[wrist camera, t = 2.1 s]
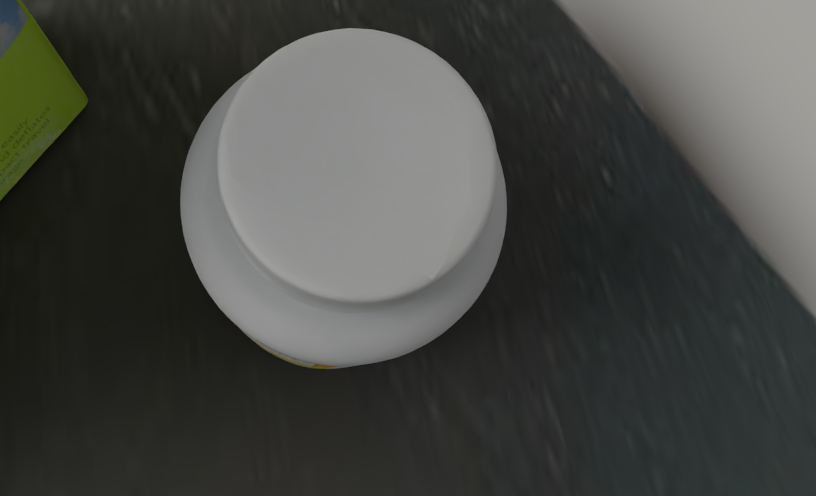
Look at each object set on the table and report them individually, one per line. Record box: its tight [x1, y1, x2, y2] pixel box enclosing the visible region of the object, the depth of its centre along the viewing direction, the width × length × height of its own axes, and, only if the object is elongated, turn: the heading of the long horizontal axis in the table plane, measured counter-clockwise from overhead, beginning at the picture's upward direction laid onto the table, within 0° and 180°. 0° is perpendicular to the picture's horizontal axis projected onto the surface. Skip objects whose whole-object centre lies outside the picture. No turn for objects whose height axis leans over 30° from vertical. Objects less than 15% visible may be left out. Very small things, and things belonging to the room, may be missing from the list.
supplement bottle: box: [180, 28, 507, 369], centre depth 16 cm, size 6×6×10 cm
